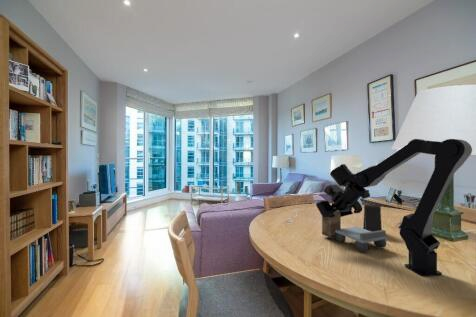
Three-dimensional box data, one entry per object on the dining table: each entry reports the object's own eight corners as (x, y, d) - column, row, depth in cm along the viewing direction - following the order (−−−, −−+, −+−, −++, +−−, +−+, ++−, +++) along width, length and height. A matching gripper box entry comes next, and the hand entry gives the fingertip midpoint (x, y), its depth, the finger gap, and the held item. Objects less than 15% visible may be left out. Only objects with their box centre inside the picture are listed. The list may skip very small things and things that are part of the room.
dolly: (386, 249, 89) (386, 231, 88) (364, 253, 85) (364, 235, 84) (355, 237, 102) (355, 221, 101) (334, 240, 98) (334, 224, 97)
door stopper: (382, 236, 102) (382, 207, 102) (365, 235, 104) (366, 206, 104) (378, 230, 110) (378, 203, 110) (363, 229, 112) (363, 202, 112)
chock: (340, 236, 99) (340, 209, 99) (330, 237, 97) (330, 210, 97) (331, 232, 104) (331, 206, 104) (322, 234, 102) (321, 207, 102)
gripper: (356, 178, 100) (336, 200, 110) (319, 180, 93) (301, 203, 103) (373, 200, 93) (350, 222, 103) (334, 204, 86) (313, 227, 96)
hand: (328, 218), depth 102 cm, fingers closed on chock, 5 cm apart
